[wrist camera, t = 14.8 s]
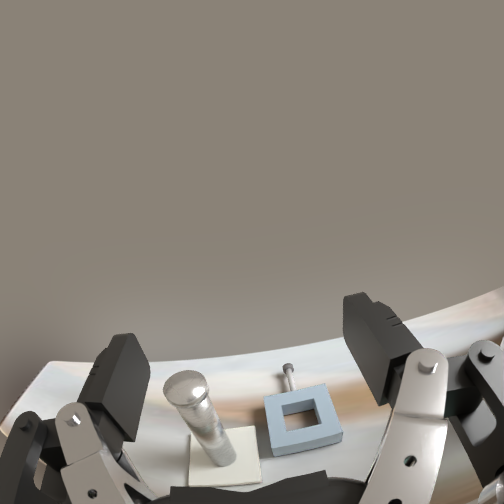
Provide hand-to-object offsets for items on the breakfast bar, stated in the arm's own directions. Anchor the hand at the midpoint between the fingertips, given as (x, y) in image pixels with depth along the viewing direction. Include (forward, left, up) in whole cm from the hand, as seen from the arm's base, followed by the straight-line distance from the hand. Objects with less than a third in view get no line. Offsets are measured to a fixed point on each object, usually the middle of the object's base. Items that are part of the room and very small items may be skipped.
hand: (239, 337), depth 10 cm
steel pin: (+8, -11, -31) cm, 34 cm away
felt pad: (+8, -11, -32) cm, 35 cm away
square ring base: (-4, -19, -32) cm, 37 cm away
